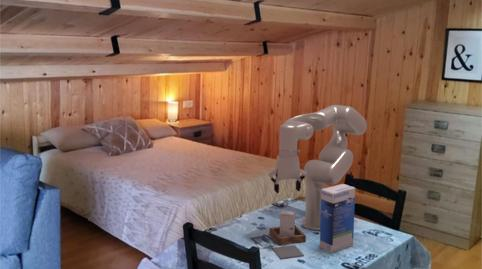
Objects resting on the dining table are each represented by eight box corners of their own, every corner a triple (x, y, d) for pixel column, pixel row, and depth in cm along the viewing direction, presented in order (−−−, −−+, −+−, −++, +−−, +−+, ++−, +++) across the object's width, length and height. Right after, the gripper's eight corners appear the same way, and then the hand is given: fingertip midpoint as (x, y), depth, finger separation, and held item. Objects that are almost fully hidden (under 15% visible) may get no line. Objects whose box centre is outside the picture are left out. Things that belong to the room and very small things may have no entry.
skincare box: (279, 239, 213) (279, 213, 211) (281, 235, 217) (281, 209, 215) (293, 241, 211) (293, 214, 209) (295, 237, 215) (295, 211, 213)
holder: (295, 231, 222) (295, 225, 221) (305, 242, 210) (305, 235, 209) (269, 234, 218) (269, 228, 218) (278, 245, 207) (278, 238, 206)
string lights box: (341, 239, 212) (343, 183, 207) (354, 245, 206) (356, 187, 201) (318, 247, 205) (320, 188, 200) (331, 253, 199) (333, 193, 194)
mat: (294, 246, 206) (294, 245, 206) (303, 256, 196) (303, 254, 196) (272, 249, 203) (272, 247, 203) (280, 259, 194) (280, 258, 194)
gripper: (303, 149, 212) (302, 187, 216) (266, 152, 208) (265, 190, 211) (310, 153, 205) (309, 192, 208) (271, 156, 201) (271, 195, 204)
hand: (287, 191), depth 210 cm, fingers open, 9 cm apart
